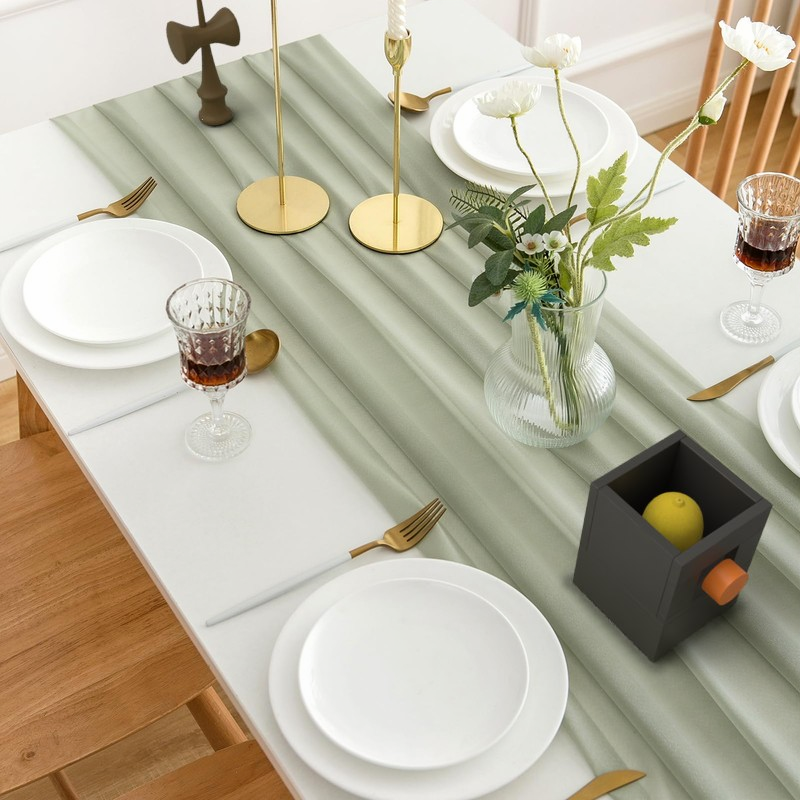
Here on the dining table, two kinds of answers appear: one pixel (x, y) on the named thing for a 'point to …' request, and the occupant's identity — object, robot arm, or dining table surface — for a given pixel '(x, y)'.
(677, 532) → the lemon
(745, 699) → the dining table surface
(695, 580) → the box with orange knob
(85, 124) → the dining table surface
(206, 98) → the kendama
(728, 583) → the power button
